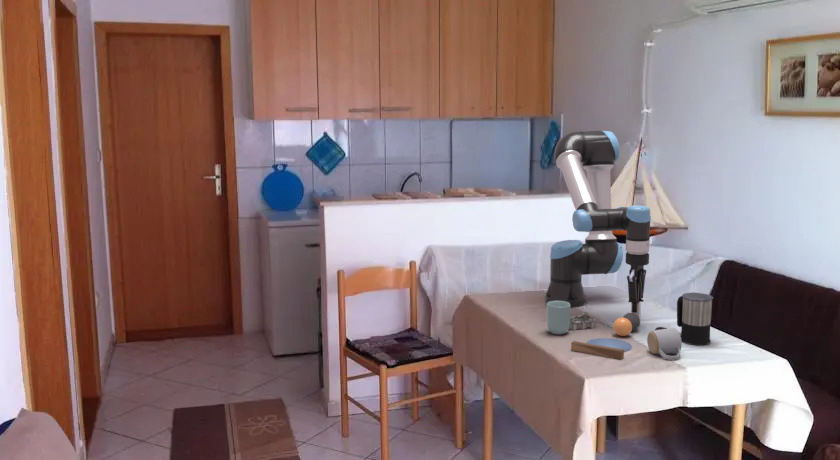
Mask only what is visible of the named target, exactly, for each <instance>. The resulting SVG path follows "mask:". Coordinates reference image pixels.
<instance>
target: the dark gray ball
mask: <svg viewBox="0 0 840 460" xmlns="http://www.w3.org/2000/svg"><path fill="white" fill-rule="evenodd" d="M622 318H626V319H628V320H629V321H630V322H631V324H632V330H631V332H634V331H636V330H637V329H638V328H640V326H641V318H640V319H639V317H638V316H637V315H636V314H634V313H631V312H627V313H625V314H624V315H623V316H622Z"/></svg>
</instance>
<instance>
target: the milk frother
mask: <svg viewBox="0 0 840 460" xmlns="http://www.w3.org/2000/svg"><path fill="white" fill-rule="evenodd" d="M713 299H714V297H713V295H711V294H707V293H702V292H694V291H693V292H685V293H683V294H682V295H681V296H679V297H678V298H677V301H676V325H677V326H678V327H680V328H681V330H680V331H681V332H680V336H681V341H682V343H684V344H688V345H693V346H707V345H709V344H710V343H711V320H712V305H713ZM661 329H667V327H664V326H657V327H656V328H654V330H653V331H655V330H661Z"/></svg>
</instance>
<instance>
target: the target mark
mask: <svg viewBox="0 0 840 460" xmlns="http://www.w3.org/2000/svg"><path fill="white" fill-rule="evenodd" d="M585 343H589V344H594V345H600V346H606V347H611V348H617V349H623V350H624V353H625V352H629V351H630V350H631V349H632V347H633V345H632V344H631V343H630V342H628V341H626V340H622V339H618V338H611V337H610V338H609V337H602V338H601V337H599V338H593V339H590V340H587V341H586V342H585Z"/></svg>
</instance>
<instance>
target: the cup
mask: <svg viewBox="0 0 840 460" xmlns="http://www.w3.org/2000/svg"><path fill="white" fill-rule="evenodd" d="M570 317H571V307H570V303H569V302H566V301H550V302H548V303H546V325H547V326H546V327H547V330H548V332H550V333H551V334H553V335H564V334H566V333H567V332H568V331H569V330H568V329H569V325H570Z"/></svg>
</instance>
